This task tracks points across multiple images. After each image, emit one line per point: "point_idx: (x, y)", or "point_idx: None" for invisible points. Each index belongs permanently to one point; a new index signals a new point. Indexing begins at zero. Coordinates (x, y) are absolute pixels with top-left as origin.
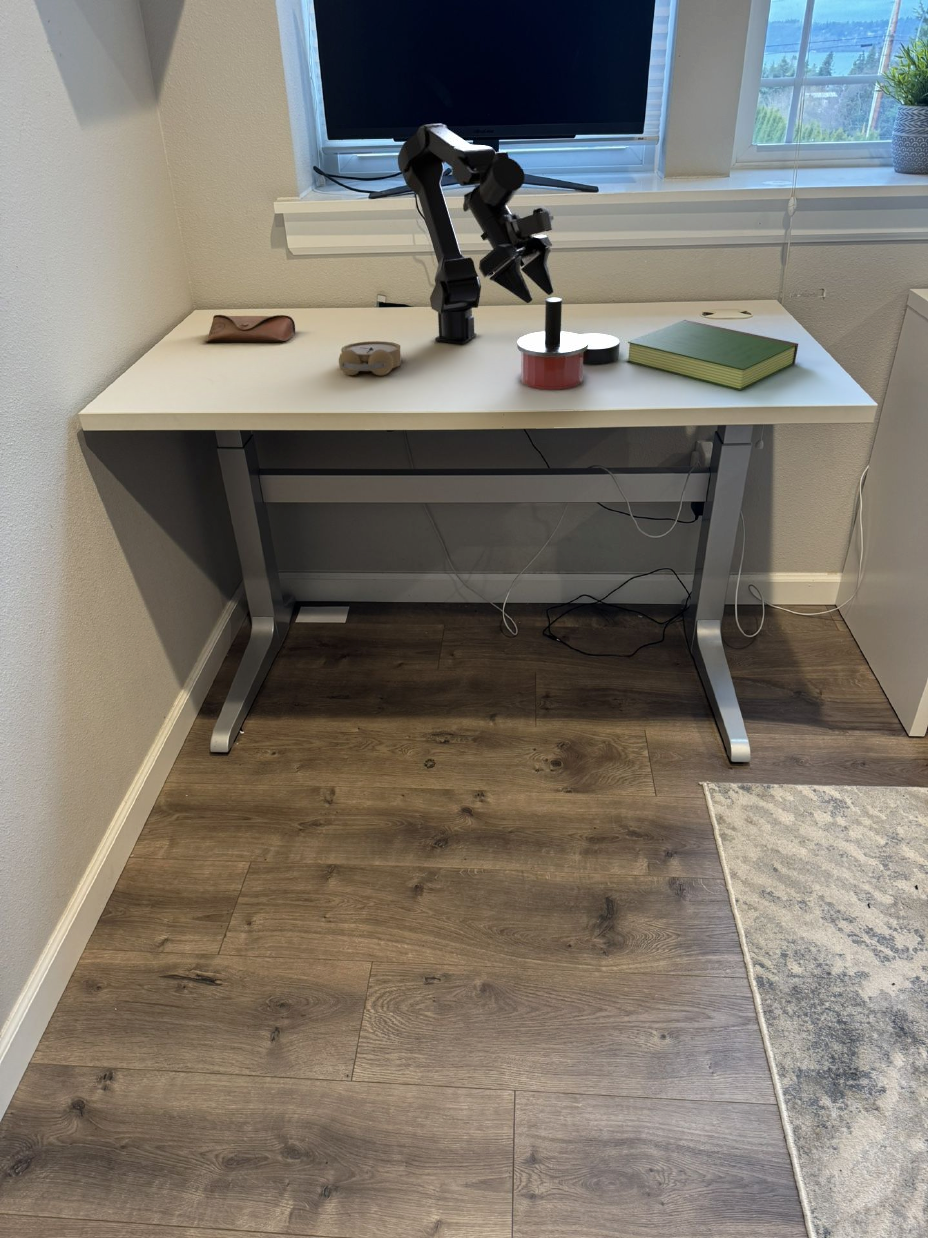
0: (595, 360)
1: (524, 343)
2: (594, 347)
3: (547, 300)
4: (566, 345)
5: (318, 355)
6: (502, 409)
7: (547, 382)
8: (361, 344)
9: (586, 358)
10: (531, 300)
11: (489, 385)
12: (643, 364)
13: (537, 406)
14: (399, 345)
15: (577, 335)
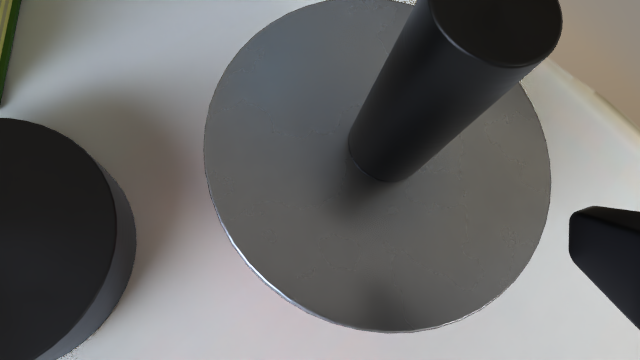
0: (104, 169)
1: (506, 228)
2: (69, 171)
3: (551, 29)
4: (384, 62)
5: None
6: (619, 137)
7: None
8: None
9: (122, 197)
10: (585, 208)
11: (544, 318)
12: (10, 35)
13: (532, 81)
14: None
15: (225, 113)
